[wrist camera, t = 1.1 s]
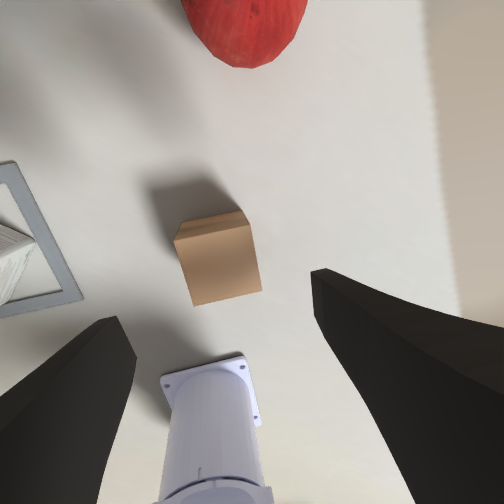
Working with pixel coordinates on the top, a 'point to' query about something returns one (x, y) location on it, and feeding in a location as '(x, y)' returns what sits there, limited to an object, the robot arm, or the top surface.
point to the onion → (245, 28)
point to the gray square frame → (47, 245)
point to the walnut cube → (218, 257)
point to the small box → (12, 259)
